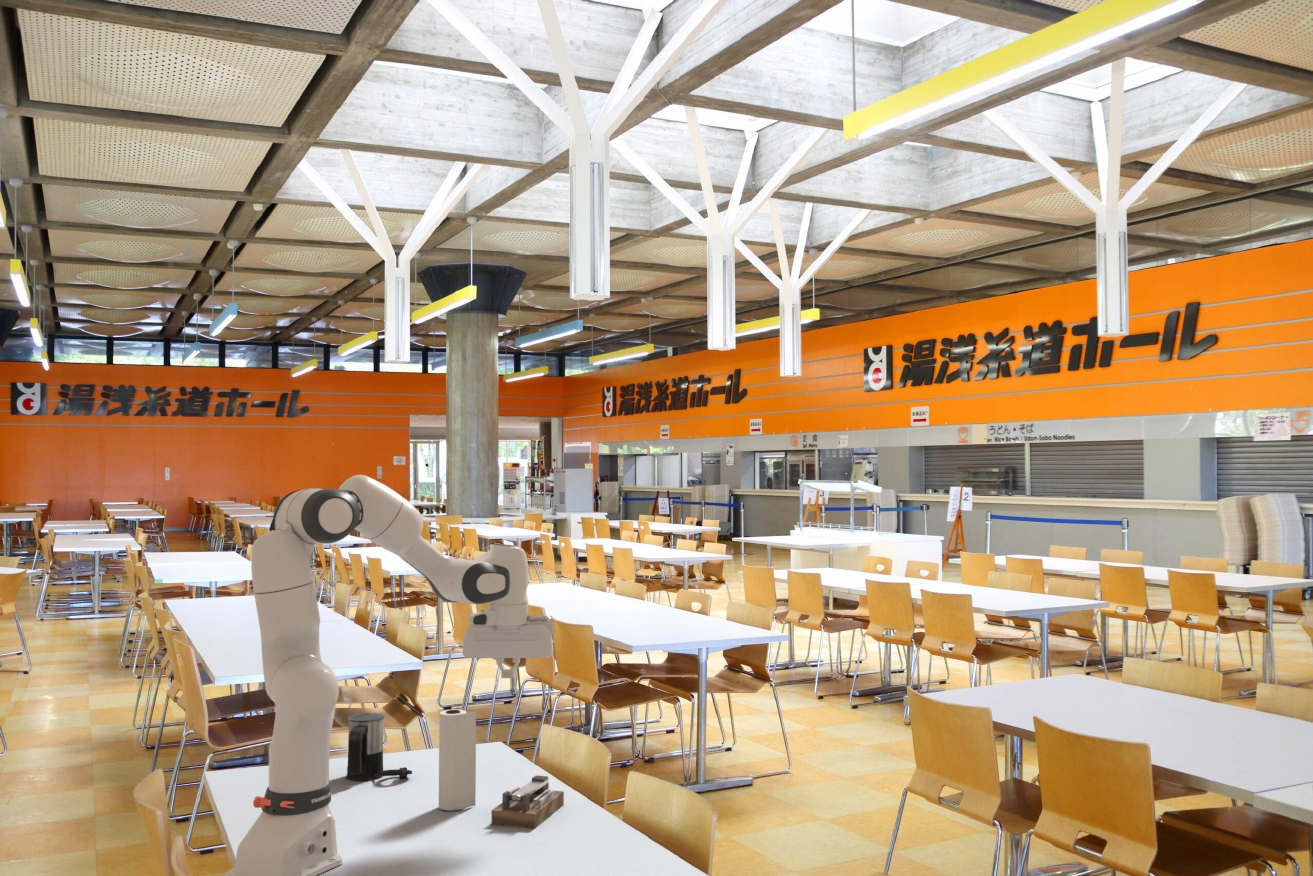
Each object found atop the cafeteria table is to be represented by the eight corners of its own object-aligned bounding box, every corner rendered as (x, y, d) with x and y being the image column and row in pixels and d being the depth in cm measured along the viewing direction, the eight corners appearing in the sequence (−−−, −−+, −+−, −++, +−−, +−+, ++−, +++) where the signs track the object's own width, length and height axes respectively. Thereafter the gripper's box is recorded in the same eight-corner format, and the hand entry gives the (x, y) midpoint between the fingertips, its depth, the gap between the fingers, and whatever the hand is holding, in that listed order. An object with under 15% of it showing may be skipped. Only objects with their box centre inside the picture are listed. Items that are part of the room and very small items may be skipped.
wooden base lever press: (535, 828, 214) (535, 797, 215) (491, 824, 217) (491, 793, 217) (563, 804, 231) (563, 775, 231) (522, 801, 233) (523, 772, 234)
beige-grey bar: (521, 802, 216) (521, 794, 216) (508, 801, 217) (508, 793, 217) (548, 783, 231) (548, 776, 231) (536, 782, 232) (536, 775, 232)
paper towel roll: (432, 809, 228) (433, 712, 229) (450, 802, 233) (451, 707, 234) (458, 814, 224) (459, 715, 225) (475, 806, 230) (476, 710, 231)
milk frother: (346, 772, 258) (347, 713, 259) (410, 768, 262) (411, 710, 263) (345, 788, 244) (346, 725, 245) (412, 783, 249) (413, 721, 249)
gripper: (555, 614, 233) (555, 675, 232) (466, 614, 233) (466, 675, 232) (553, 617, 227) (552, 680, 226) (461, 617, 227) (460, 680, 226)
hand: (508, 677), depth 229 cm, fingers closed
